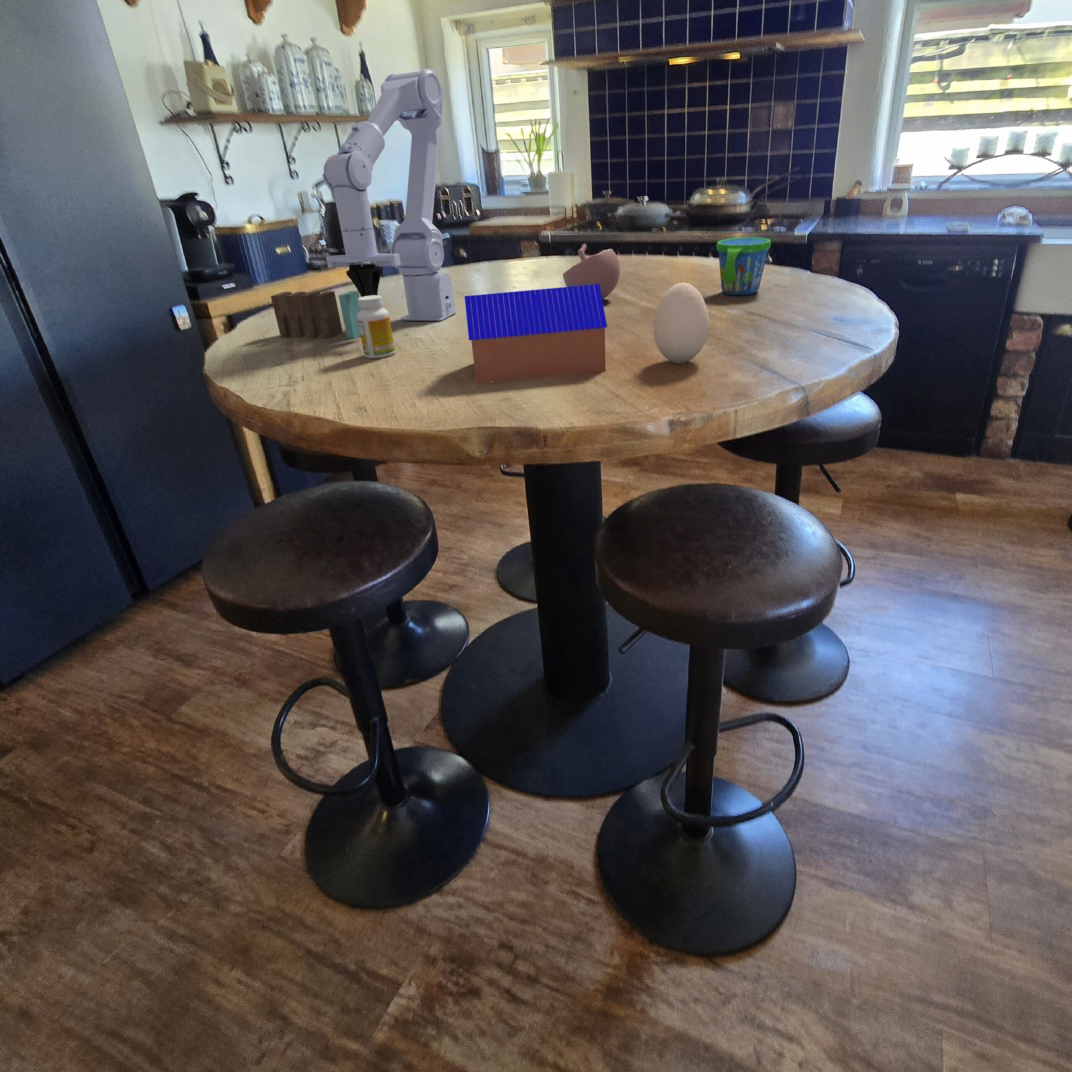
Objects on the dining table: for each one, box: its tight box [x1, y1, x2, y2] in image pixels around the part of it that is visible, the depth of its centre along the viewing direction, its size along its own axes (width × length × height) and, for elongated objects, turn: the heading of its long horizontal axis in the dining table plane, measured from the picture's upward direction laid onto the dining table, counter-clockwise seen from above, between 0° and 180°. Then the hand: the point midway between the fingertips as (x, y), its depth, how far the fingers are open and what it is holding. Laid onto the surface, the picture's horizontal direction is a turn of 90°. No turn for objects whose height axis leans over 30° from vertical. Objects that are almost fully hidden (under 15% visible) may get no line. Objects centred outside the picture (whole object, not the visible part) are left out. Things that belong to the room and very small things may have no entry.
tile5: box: [270, 291, 294, 338], centre depth 138 cm, size 2×4×8 cm, turn 161°
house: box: [464, 284, 608, 384], centre depth 104 cm, size 12×20×12 cm, turn 95°
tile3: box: [300, 290, 323, 339], centre depth 136 cm, size 2×4×8 cm, turn 160°
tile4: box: [285, 290, 309, 339], centre depth 137 cm, size 2×4×8 cm, turn 160°
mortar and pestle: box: [562, 243, 621, 300], centre depth 146 cm, size 12×12×12 cm
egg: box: [652, 282, 710, 364], centre depth 101 cm, size 8×8×11 cm
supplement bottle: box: [357, 294, 396, 360], centre depth 118 cm, size 5×5×10 cm
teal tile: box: [338, 290, 361, 339], centre depth 133 cm, size 2×4×8 cm, turn 161°
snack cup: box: [715, 236, 772, 296], centre depth 143 cm, size 16×10×10 cm
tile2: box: [314, 290, 344, 339], centre depth 135 cm, size 2×4×8 cm, turn 160°
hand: (371, 307), depth 131 cm, fingers closed
